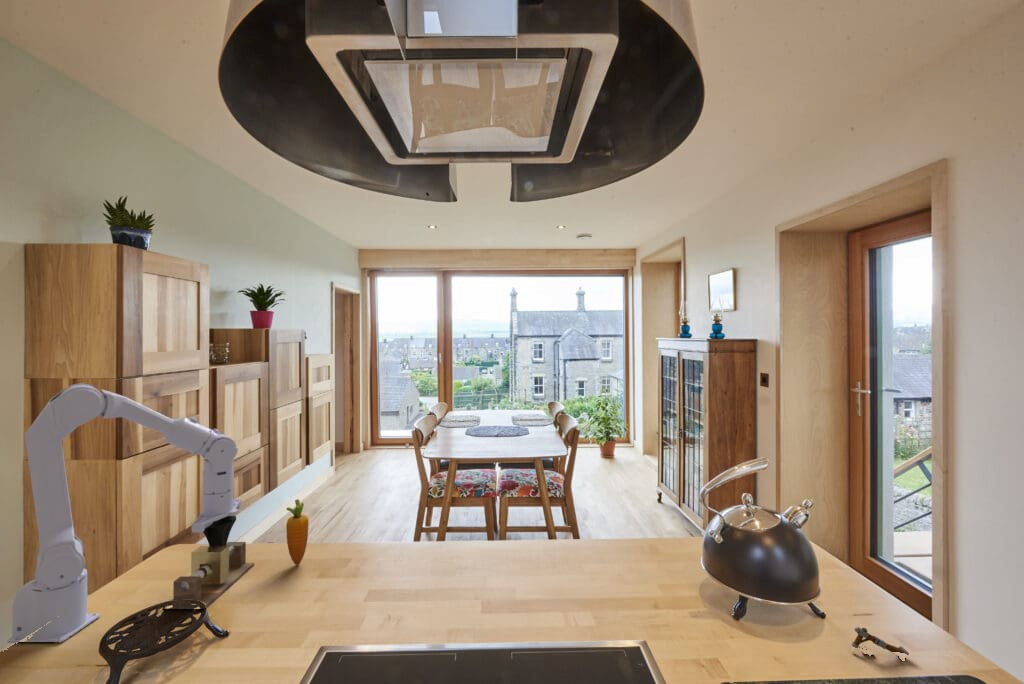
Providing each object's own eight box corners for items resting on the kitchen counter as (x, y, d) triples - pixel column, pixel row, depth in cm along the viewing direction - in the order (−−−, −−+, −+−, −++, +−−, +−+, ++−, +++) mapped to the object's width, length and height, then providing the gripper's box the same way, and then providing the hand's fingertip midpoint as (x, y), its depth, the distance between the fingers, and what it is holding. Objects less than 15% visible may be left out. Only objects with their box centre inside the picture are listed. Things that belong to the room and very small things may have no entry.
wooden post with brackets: (842, 644, 80) (854, 621, 79) (890, 668, 78) (902, 645, 78) (848, 651, 78) (860, 627, 78) (897, 676, 77) (909, 652, 76)
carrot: (303, 570, 106) (303, 504, 106) (281, 570, 106) (281, 504, 106) (312, 560, 111) (313, 497, 111) (292, 560, 111) (292, 497, 111)
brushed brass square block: (220, 584, 97) (220, 552, 97) (191, 584, 97) (191, 552, 97) (228, 577, 100) (228, 545, 100) (200, 577, 100) (200, 546, 100)
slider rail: (204, 609, 90) (204, 581, 90) (162, 610, 90) (163, 581, 90) (254, 565, 108) (254, 541, 108) (219, 565, 108) (219, 541, 108)
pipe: (189, 592, 90) (189, 581, 90) (178, 592, 90) (178, 581, 90) (241, 550, 108) (241, 541, 108) (232, 550, 108) (232, 541, 108)
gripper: (216, 501, 94) (216, 568, 94) (254, 480, 109) (254, 538, 109) (181, 501, 94) (180, 569, 94) (224, 480, 108) (223, 538, 108)
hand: (218, 552), depth 101 cm, fingers closed
